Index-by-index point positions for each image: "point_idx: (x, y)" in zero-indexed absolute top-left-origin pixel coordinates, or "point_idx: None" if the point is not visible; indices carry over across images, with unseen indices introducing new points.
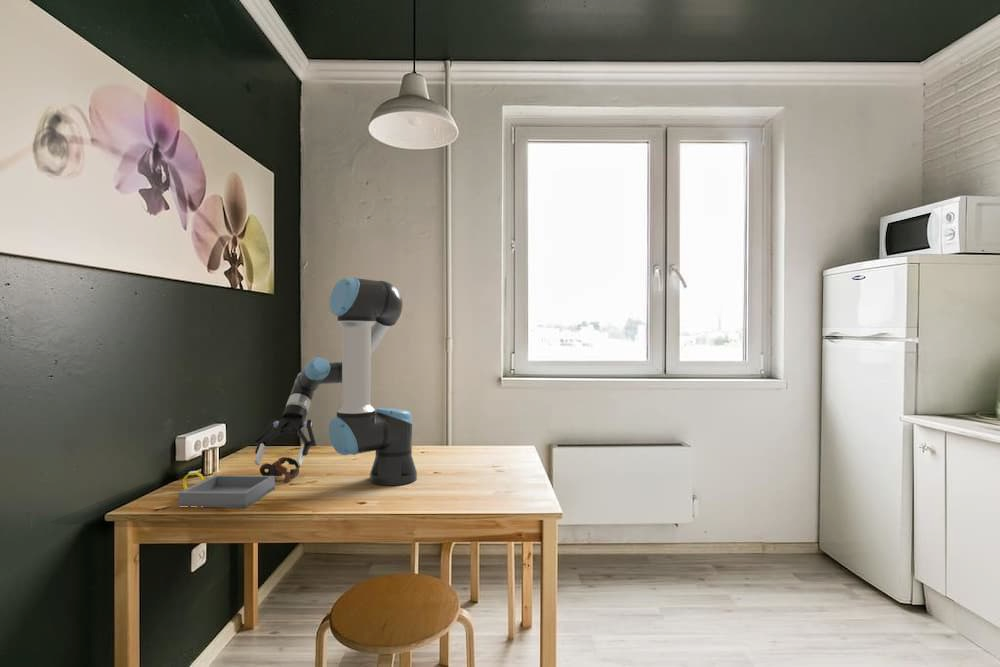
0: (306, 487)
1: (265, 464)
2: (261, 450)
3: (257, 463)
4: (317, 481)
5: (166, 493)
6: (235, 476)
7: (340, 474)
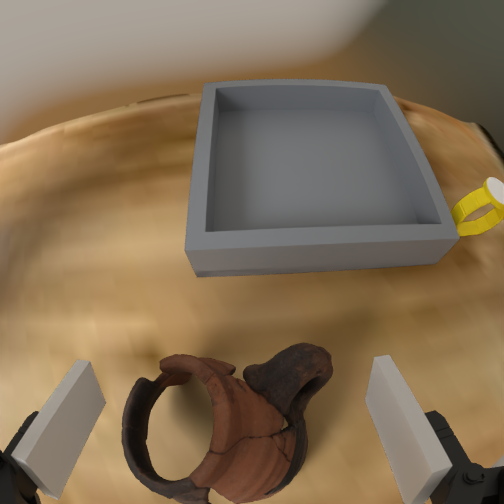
0: (84, 307)
1: (299, 358)
2: (403, 437)
3: (371, 384)
4: None
5: None
6: (371, 225)
7: None
